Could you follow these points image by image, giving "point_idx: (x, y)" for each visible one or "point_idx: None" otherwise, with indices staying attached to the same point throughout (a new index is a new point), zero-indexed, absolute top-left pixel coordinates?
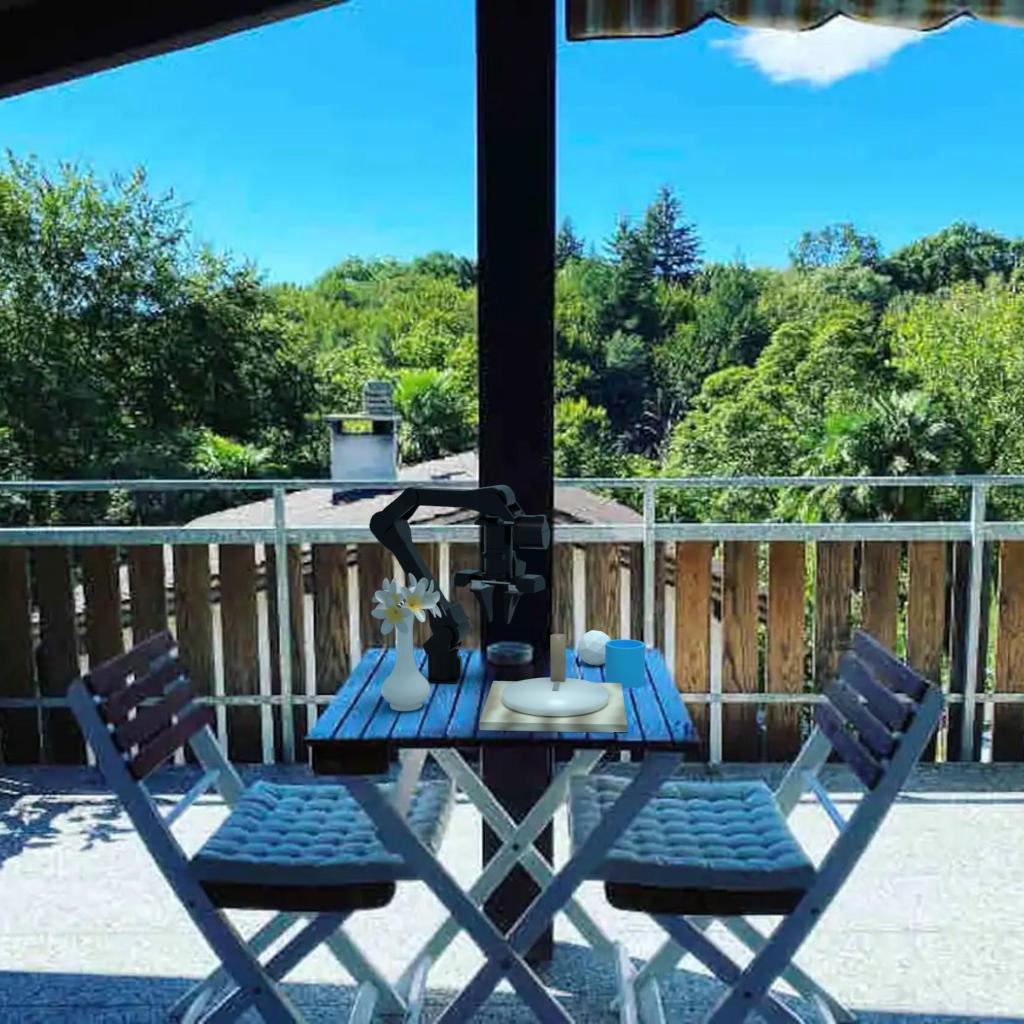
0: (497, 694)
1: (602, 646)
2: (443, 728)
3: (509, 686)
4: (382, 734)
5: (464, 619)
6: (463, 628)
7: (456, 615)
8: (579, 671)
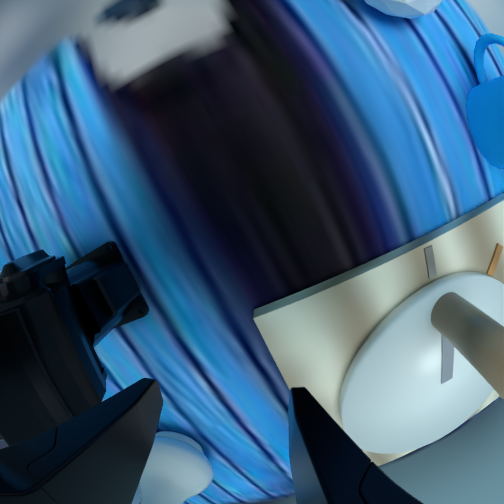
0: (317, 398)
1: (439, 2)
2: (287, 481)
3: (350, 407)
4: (230, 500)
5: (36, 369)
6: (70, 373)
7: (29, 414)
8: (387, 58)
